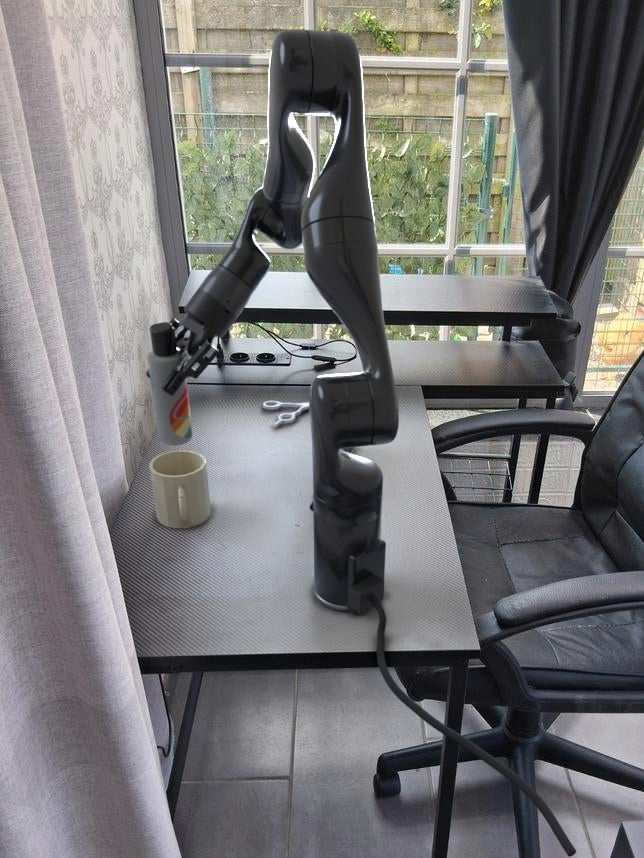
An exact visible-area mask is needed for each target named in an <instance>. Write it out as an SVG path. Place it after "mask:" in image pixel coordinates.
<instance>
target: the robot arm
mask: <svg viewBox="0 0 644 858" xmlns="http://www.w3.org/2000/svg"><path fill="white" fill-rule="evenodd" d="M268 66H269V67H268V97H267V98H268V100H267V101H268V102H267V141H268V142H267V143H268V145H267V147H268V148H267V158H266V163H265V169H264V175H263V180H262V187H260V188H258V189H257V190H256V191H254V193H253V194H252V196H251V197H250V199H249V201H248V204H247V206H246V209H245V213H244V216H243V219H242V220H241V221H242V222H241V224H240V226H239V229H238V230H237V233H236V235H235V237H234V240H233V242H232V243H231V244H230V247H229V248H228V249H227V251H226V252H225V253H224V254H223V256H222V257H221V259H220V260H219V261H218V263H217V265H216V266H215V267H214V268H213V269H212V270H211V271H210V272H209V273H208V274H207V276H205V278H204V280H203V281H202V283H201V284H200V285H199V286H198V288H197V289H196V291H195V292H194V294H193V295H192V296H191V298H190V299H189V300H188V302H187V303H186V305H185V306H184V308H183V311H184V312H185V314H187V317H185V318H184V320H182V322H180V321H178V320H177V319H176V318H174V317H173V318H171V319H170V321H168V323H171V324H172V326H173V327H174V328H175V336H176V345H177V350H180V352H179V358H180V359H179V361H178V364H177V366H176V370H177V371H176V370H173V372H172V373H171V374H170V376H169V377H168V378H167V380H166V381H165V383H164V384H163V385H162V390H164V391H165V392H166V393H168V394H169V395H174V394H175V392H176V391H177V390H178V388H179V387H180V386H181V384H182V383H183V382H184V380H185V379H186V380H187V379H189V378H193V379H194V380H196V379H198V378H199V377H200V376H201V374H202V373H203V372H204V371H205V370H206V369H207V367H208V366H209V365H210V364H211V363H212V362H213V361H214V359H216V358H217V356H218V355H219V353H220V350H219V349H218V348H216V347H215V346H214V345H213V342H214V339H215V338H216V337H218V338H220V339H221V338H224V337H225V335H226V334H227V332H228V331H229V330H230V329H231V327H232V325H234V323H235V322H236V320H237V319H238V317H239V316H240V315H241V314H242V312H243V311H244V309H245V308H246V306H247V304H248V303H249V301H250V300H251V297H252V295H253V294H254V292H255V291H256V290H257V289H258V287H259V285H260V284H261V283H262V281H264V279H265V278H266V276H267V275H268V273H269V271H270V270H271V267H272V262H271V259H270V257H269V256H268V255H267V254H266V253H265V252H264V251H263V250H262V248H261V246H259V244H258V243H257V241H256V238H257V235H258V233H259V232H260V233H261V234H262V235H264V236H265V237H266V238H267V239H269V240H270V241H271V242H273V243H274V244H276V245H277V246H278V247H279V248H281V249H284V250H286V251H294V250H297V249H299V248H301V247H303V248H302V249H303V257H304V266H305V271H306V273H307V275H308V278H309V279H310V281H311V283H312V285H313V286H314V288H315V289H316V291H317V292H318V294H319V295H320V296H321V297H322V299H323V300H324V301H325V303H326V304H327V305H328V306H329V308H330V309H331V310H332V311H333V313H334V314H335V315H336V317H338V319H339V320H340V322H341V323H342V324H343V326H344V327H345V329H346V330H347V332H348V334H349V335H350V337H351V339H352V341H353V343H354V346H355V348H356V350H357V353H358V355H359V356H358V357H359V358H360V362H361V367H362V370H363V371H361V372H359V371H358V372H344V373H330V374H329V373H328V374H321V375H317V376H316V377H315V378H314V379H312V381H311V384H310V388H309V393H308V402H309V409H308V411H309V422H310V434H311V453H312V454H311V455H312V456H311V457H312V461H311V462H312V489H313V490H312V497H313V500H312V502H313V511H312V512H313V514H312V515H313V570H314V571H313V579H314V580H313V581H314V582H313V595H314V597H315V599H316V600H317V601H318V602H319V603H320V604H321V605H322V606H324V607H326V608H329V609H331V610H335V611H340V612H348V613H350V614H351V615H356V614H357V613H359V614H361V613H363V612H364V611H366V610H367V609H369V608H370V607H372V606H373V607H374V609H375V611H376V613H377V616H378V625H377V629H376V630H377V632H376V662H377V666H378V669H379V671H380V673H381V675H382V678H383V680H384V682H385V683H386V685H387V687H388V688H389V690H390V691H391V692H392V693H393V694H394V696H396V698H397V699H398V700H400V701H401V702H402V703H403V704H404V705H405V706H406V707H407V708H408V709H409V710H411V711H412V712H413V713H414V714H415V715H417V716H418V717H419V718H420V719H421V720H423V721H424V722H425V723H427V724H428V725H429V726H430V727H432V728H433V729H435V730H436V731H438V732H439V733H440V734H442V735H444V736H445V737H446V738H449V739H450V740H452V741H453V742H455V743H456V744H458V745H460V746H461V747H463V748H465V749H466V750H467V751H469V752H470V753H471V754H473V755H475V756H476V757H477V758H478V759H480V760H481V761H483V762H484V763H485V764H487V765H488V766H490V767H491V768H492V769H494V770H496V771H497V772H498V773H500V774H501V775H502V776H504V777H505V778H506V779H508V780H509V781H511V783H512V784H514V785H515V787H517V788H518V789H519V790H520V791H522V793H523V794H524V795H525V796H526V797H527V798H528V799H529V800H530V801H531V802H532V803H533V805H534V806H535V807H536V808H537V809H538V811H539V812H540V813H541V815H542V816H543V818H544V819H545V821H546V822H547V824H548V826H549V827H550V829H551V831H552V833H553V834H554V836H555V838H556V840H557V841H558V843H559V844H560V846H561V847H562V849H563V851H564V852H565V854H566V855H567V857H568V858H571V857H573V856H574V855H576V853H577V849H576V848H575V846H574V845H573V844H572V842H571V841H570V839H569V837H568V836H567V834H566V832H565V831H564V829H563V827H562V826H561V824H560V822H559V821H558V819H557V818H556V816H555V815H554V812H553V811H552V810H551V809H550V807H549V806H548V804H547V803H546V802H545V801H544V799H543V798H542V797H541V796H540V795H539V794H538V793H537V791H536V790H534V788H533V787H532V786H531V785H530V784H529V783H528V782H527V781H526V780H524V778H522V777H521V776H520V775H518V773H516V772H515V771H513V770H512V769H511V768H510V767H508V766H507V765H506V764H504V763H502V761H500V760H499V759H497V758H496V757H494V756H493V755H491V754H490V753H489V752H487V751H486V750H484V749H483V748H482V747H480V746H479V745H477V744H475V743H474V742H473V741H471V740H470V739H469V738H467V737H465V736H464V735H462V734H461V733H459V732H458V731H456V730H454V729H452V728H451V727H449V726H447V725H446V724H444V723H443V722H441V721H440V720H438V719H437V718H435V717H434V716H433V715H432V714H430V713H429V712H428V711H427V710H426V709H424V708H423V707H422V706H420V705H419V704H418V703H417V702H415V701H414V700H413V699H412V698H411V697H410V696H409V695H408V694H406V692H405V691H403V690H402V689H401V687H400V686H399V685H398V684H397V683H396V681H395V680H394V678H393V677H392V675H391V673H390V671H389V669H388V665H387V663H386V657H385V638H386V635H385V632H386V628H387V615H386V611H385V609H384V607H383V604H382V603H381V602H380V601H381V600H383V599H384V598H385V569H386V554H387V553H386V552H387V543H386V541H385V540H383V539H381V537H382V536H381V533H382V513H383V512H382V511H383V489H384V488H383V487H384V475H383V471H382V469H381V468H380V466H379V465H378V464H377V462H375V461H373V460H371V459H369V458H367V457H365V456H362V455H358V454H355V453H353V452H352V453H348V452H345V451H343V450H341V448H351V447H355V448H359V447H370V446H381V445H386V444H390V443H392V442H393V441H394V440H395V439H396V437H397V435H398V431H399V427H400V426H399V424H400V410H399V401H398V393H397V388H396V380H395V375H394V370H393V369H394V368H393V365H392V359H391V353H390V347H389V341H388V336H387V330H386V324H385V323H386V322H385V318H384V309H383V299H382V287H381V277H380V275H381V274H380V262H379V250H378V248H379V247H378V239H377V238H378V237H377V231H376V223H375V216H374V208H373V201H372V194H371V187H370V186H371V185H370V177H369V171H368V161H367V160H368V159H367V148H366V147H367V145H366V125H365V100H364V80H363V79H364V78H363V67H362V66H363V65H362V59H361V53H360V49H359V45H358V43H357V41H356V40H355V38H354V36H352V34H349V33H346V32H343V31H335V30H333V31H332V30H319V29H317V30H316V29H304V28H303V29H302V28H287V29H283V30H280V31H279V32H278V33H277V34H276V36H275V37H274V39H273V42H272V45H271V50H270V57H269V65H268ZM293 114H296V115H297V114H298V115H312V116H332V117H333V119H334V123H335V132H334V141H333V144H332V147H331V150H330V152H329V153H328V154H329V155H328V157H327V159H326V162H325V164H324V165H323V167H322V170H321V172H320V174H319V175H318V177H317V179H316V181H315V183H314V185H313V187H312V184H313V180H314V175H315V168H316V161H315V155H314V152H313V148H312V147H311V144H310V143H309V141H308V139H307V138H306V137H305V136H306V135H304V134H303V132H302V130H301V129H300V128H299V126H298V124H297V122H296V120H295V118H294V116H293ZM311 187H312V188H311ZM184 365H185V366H184ZM195 368H196V369H195ZM145 376H146V377H147V378H148V379H150V374H149V368H148V369H147V370H146V372H145Z"/></svg>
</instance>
